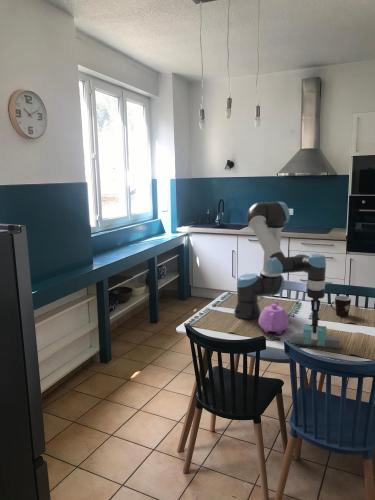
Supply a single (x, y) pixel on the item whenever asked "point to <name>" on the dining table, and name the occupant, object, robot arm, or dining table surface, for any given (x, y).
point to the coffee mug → (342, 305)
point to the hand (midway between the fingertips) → (314, 336)
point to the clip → (321, 334)
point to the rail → (315, 341)
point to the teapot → (274, 318)
